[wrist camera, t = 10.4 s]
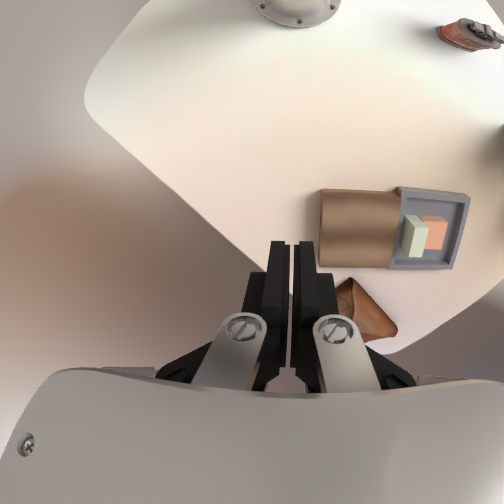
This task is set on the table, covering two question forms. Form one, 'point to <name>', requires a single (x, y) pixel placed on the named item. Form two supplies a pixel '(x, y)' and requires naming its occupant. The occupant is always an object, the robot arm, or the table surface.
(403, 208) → the tray
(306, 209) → the table surface
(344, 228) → the brown square slab
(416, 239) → the pale green rectangular block
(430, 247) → the tile
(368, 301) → the sunglasses case
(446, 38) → the lighter
